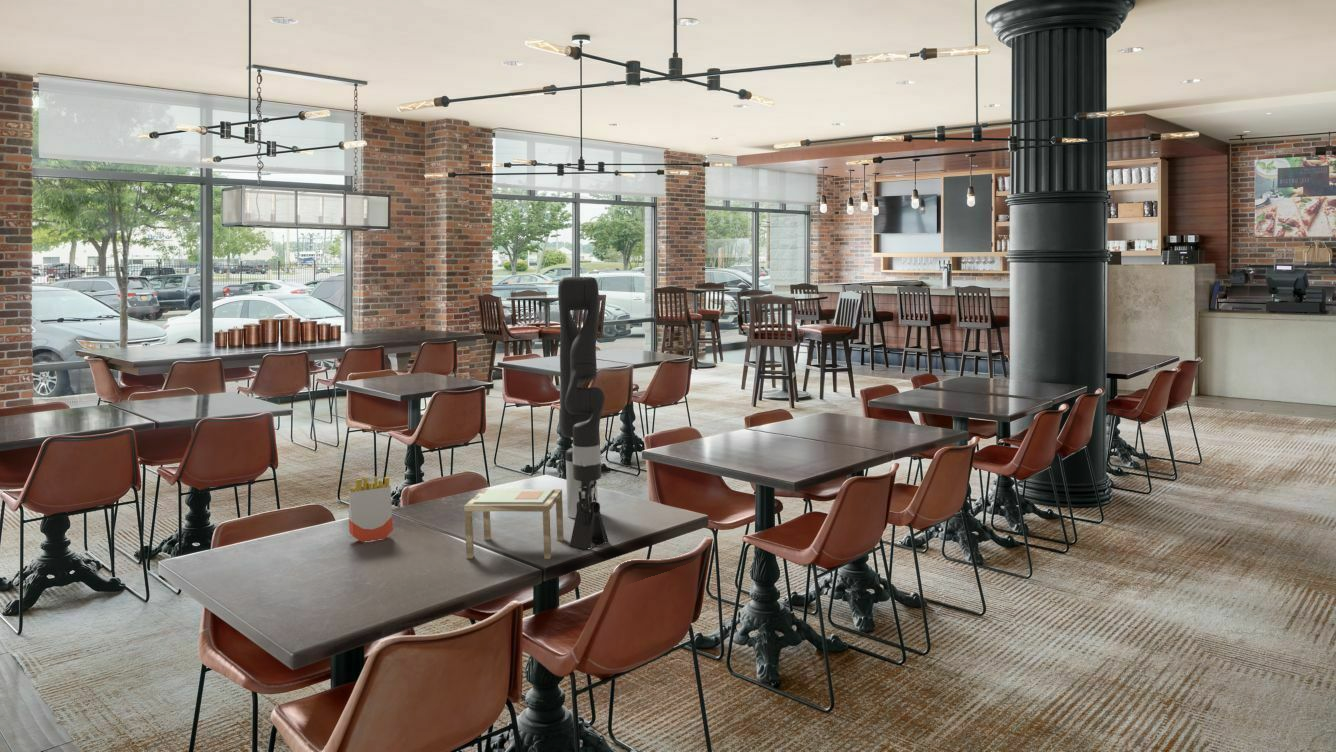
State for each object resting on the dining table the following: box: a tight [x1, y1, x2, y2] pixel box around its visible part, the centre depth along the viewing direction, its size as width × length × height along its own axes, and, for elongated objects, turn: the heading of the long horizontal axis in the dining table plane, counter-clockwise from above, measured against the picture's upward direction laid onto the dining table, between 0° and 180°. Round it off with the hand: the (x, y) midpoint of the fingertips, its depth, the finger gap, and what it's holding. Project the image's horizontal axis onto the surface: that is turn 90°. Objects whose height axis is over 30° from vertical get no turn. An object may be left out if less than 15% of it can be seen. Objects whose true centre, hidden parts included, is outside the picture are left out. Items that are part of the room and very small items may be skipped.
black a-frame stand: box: [569, 500, 609, 550], centre depth 254 cm, size 9×6×12 cm, turn 140°
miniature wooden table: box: [463, 488, 564, 560], centre depth 252 cm, size 18×22×14 cm
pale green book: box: [474, 488, 553, 504], centre depth 251 cm, size 14×18×2 cm
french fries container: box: [348, 476, 394, 543], centre depth 262 cm, size 5×11×18 cm, turn 121°
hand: (588, 522), depth 254 cm, fingers closed on black a-frame stand, 5 cm apart
